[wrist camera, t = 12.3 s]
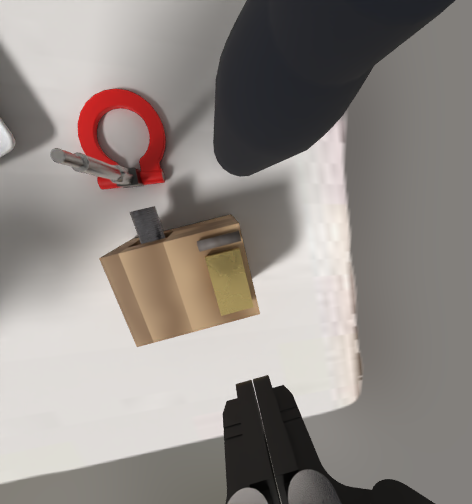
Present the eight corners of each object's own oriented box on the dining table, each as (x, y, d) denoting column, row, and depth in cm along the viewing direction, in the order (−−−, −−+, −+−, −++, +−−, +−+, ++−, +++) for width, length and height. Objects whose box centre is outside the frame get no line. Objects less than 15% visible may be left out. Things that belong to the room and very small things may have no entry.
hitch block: (156, 305, 29) (133, 353, 20) (131, 239, 26) (93, 261, 18) (247, 282, 29) (262, 318, 21) (230, 214, 27) (240, 224, 18)
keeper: (221, 312, 21) (221, 315, 20) (205, 255, 19) (204, 257, 19) (252, 304, 21) (253, 307, 20) (238, 247, 20) (239, 248, 19)
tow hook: (74, 97, 23) (97, 191, 25) (-95, -34, 10) (-20, 179, 12) (158, 90, 23) (174, 183, 25) (97, -40, 11) (138, 162, 13)
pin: (202, 307, 28) (200, 329, 23) (165, 317, 28) (157, 341, 23) (169, 202, 24) (160, 204, 20) (127, 212, 24) (108, 217, 20)
